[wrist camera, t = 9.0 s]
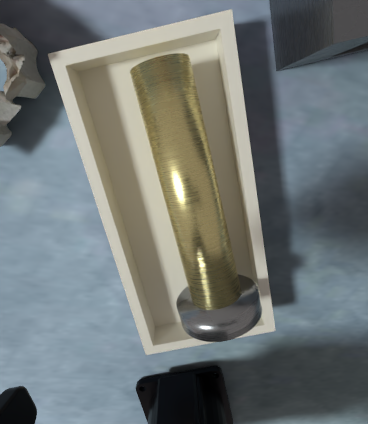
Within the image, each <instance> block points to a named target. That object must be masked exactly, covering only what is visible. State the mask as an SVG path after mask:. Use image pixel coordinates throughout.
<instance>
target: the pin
mask: <svg viewBox="0 0 368 424" xmlns="http://www.w3.org/2000/svg"><path fill="white" fill-rule="evenodd" d="M130 75H131V79H132V82H133V86H134V90H135V93H136V97H137V101H138V104H139V108H140V112H141V115H142V119H143V123H144V126H145V130H146V134H147V137H148V141H149V145H150V148H151V152H152V156H153V159H154V163H155V167H156V170H157V174H158V178H159V181H160V185H161V189H162V192H163V196H164V200H165V203H166V207H167V211H168V214H169V218H170V222H171V225H172V229H173V233H174V237H175V240H176V244H177V248H178V251H179V255H180V259H181V262H182V266H183V270H184V273H185V277H186V281H187V284H188V286H187V287H186V288H185V289H184V290H183V291H182V292H181V293H180V294H179V296H178V298H177V302H176V305H177V310H178V313H179V317H180V320H181V323H182V327H183V329H184V331H185V332H186V333H187V334H188V335H190V336H191V337H193V338H195V339H198V340H201V341H206V342H221V341H227V340H231V339H234V338H237V337H239V336H241V335H243V334H245V333H247V332H248V331H250V330H251V329H252V328H253V327H254V326H255V325H256V324H257V323H258V322H259V320H260V318H261V315H262V306H261V301H260V296H259V291H258V287H257V285H256V283H255V282H254V281H253V280H252V279H250V278H248V277H246V276H243V275H239V274H238V273H237V269H236V264H235V260H234V255H233V251H232V246H231V242H230V237H229V233H228V228H227V224H226V219H225V215H224V210H223V206H222V201H221V196H220V192H219V187H218V183H217V178H216V174H215V169H214V165H213V160H212V156H211V151H210V147H209V142H208V138H207V133H206V129H205V124H204V120H203V115H202V111H201V106H200V102H199V97H198V93H197V88H196V84H195V79H194V75H193V70H192V66H191V61H190V57H189V55H187V54H184V53H174V54H167V55H162V56H158V57H154V58H151V59H148V60H146V61H144V62H141V63H139V64H137V65H136V66H134V67H133V68H132V69H131V70H130Z"/></svg>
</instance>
